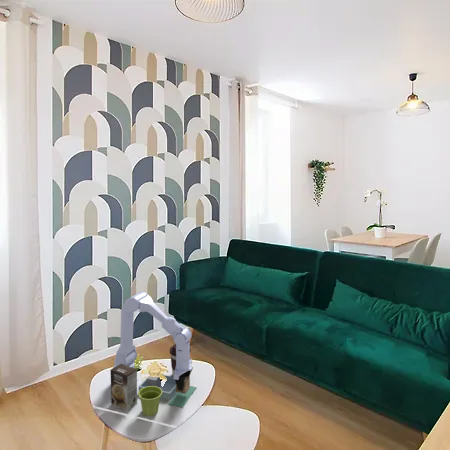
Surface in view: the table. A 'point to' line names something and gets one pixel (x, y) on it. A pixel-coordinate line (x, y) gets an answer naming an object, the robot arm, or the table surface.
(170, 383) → the bin
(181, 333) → the robot arm
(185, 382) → the labelled block
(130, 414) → the table surface
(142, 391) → the plant pot
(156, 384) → the plain block
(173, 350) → the coffee cup
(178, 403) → the mat
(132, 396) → the coffee box
